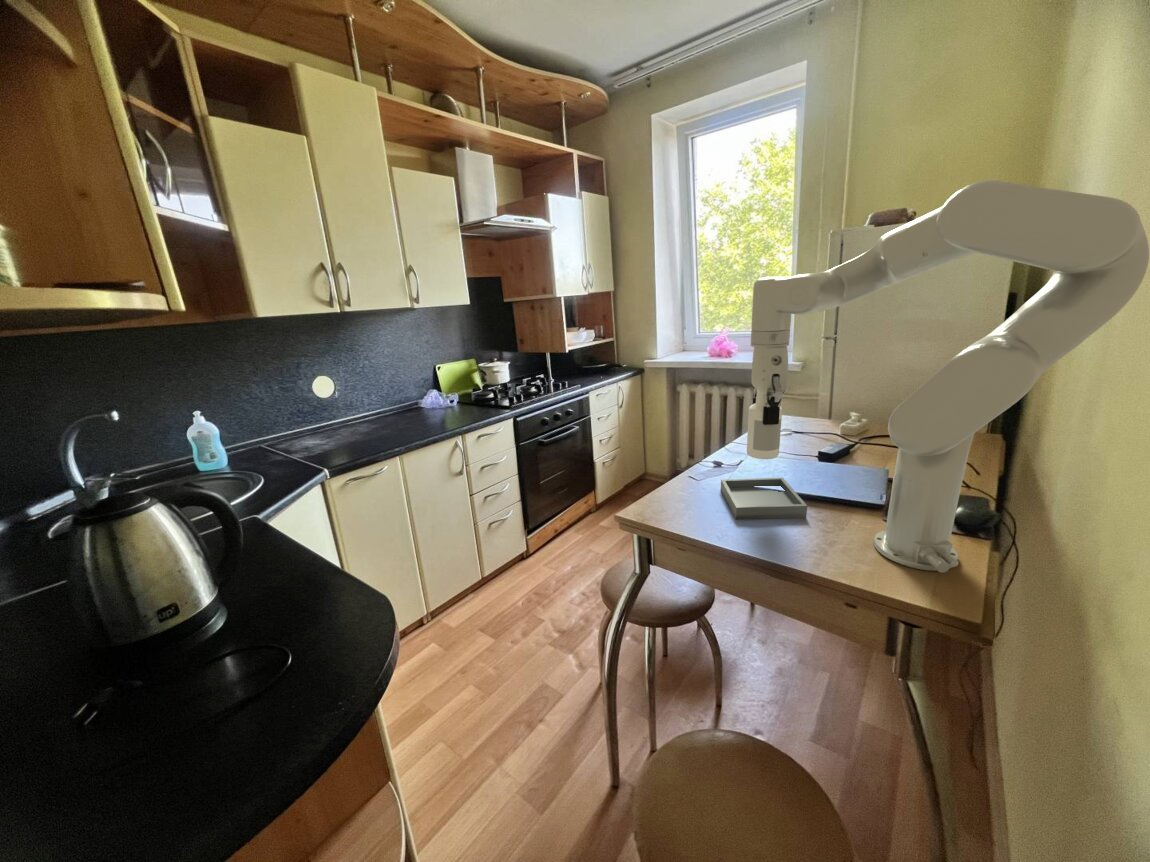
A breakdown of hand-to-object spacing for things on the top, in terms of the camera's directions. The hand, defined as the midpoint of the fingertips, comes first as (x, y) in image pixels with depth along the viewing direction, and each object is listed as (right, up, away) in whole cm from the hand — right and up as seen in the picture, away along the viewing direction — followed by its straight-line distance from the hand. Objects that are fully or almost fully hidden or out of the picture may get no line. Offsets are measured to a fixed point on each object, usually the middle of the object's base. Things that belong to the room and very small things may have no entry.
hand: (764, 418), depth 100 cm
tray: (+2, -20, +6) cm, 21 cm away
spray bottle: (+1, -8, +3) cm, 9 cm away
